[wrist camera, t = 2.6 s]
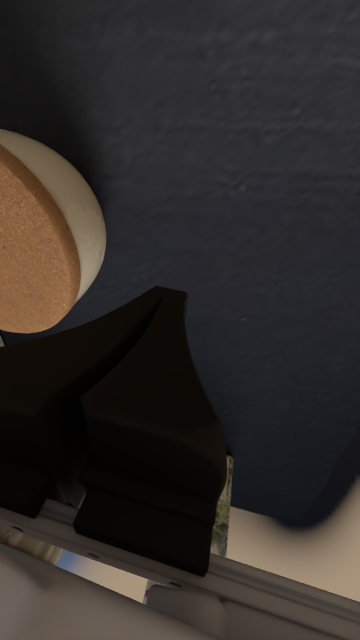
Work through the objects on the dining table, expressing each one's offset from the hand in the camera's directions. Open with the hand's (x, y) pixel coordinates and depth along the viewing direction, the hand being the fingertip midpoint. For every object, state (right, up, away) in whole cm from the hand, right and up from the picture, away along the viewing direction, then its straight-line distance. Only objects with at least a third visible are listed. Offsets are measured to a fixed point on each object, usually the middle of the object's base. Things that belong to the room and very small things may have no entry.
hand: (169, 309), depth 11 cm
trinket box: (-8, +8, +9) cm, 14 cm away
